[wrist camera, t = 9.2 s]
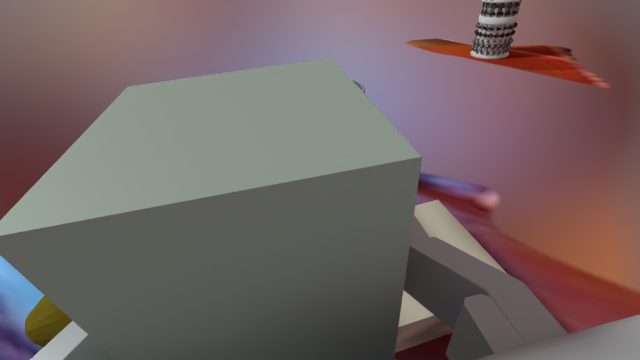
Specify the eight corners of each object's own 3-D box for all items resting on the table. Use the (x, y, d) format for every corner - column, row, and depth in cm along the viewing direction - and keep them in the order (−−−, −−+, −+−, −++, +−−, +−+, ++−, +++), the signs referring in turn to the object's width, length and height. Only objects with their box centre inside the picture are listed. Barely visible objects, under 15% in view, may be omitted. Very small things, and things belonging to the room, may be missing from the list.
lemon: (207, 263, 30) (177, 202, 25) (216, 335, 24) (179, 274, 19) (84, 306, 27) (25, 246, 22) (60, 400, 21) (-28, 347, 16)
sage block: (228, 463, 9) (-18, 238, 3) (234, 311, 13) (127, 86, 7) (385, 418, 10) (421, 156, 4) (345, 286, 14) (331, 57, 8)
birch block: (385, 358, 22) (387, 330, 19) (340, 254, 30) (338, 225, 27) (503, 316, 24) (519, 286, 21) (432, 228, 31) (437, 199, 29)
